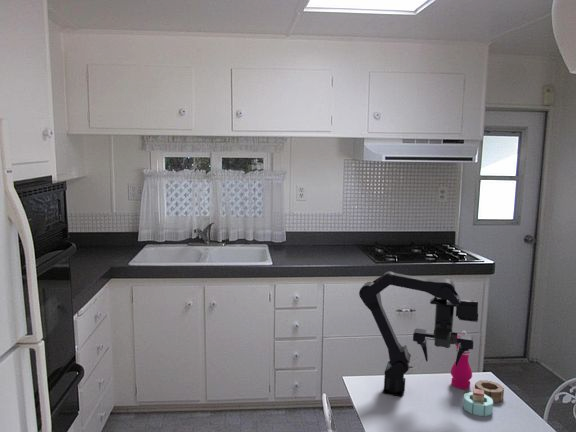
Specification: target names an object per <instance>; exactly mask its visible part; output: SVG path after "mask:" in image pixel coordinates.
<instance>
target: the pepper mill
mask: <svg viewBox="0 0 576 432" xmlns="http://www.w3.org/2000/svg"><path fill="white" fill-rule="evenodd" d="M461 334H462V335H468V333H467V331H466V330H462V331H461ZM461 334H457V337H459V338H460V335H461ZM454 345H455V350H454V351H455V353H457V350H458V345H459V343H457V344H454ZM471 350H472V349H469V350H468V351H465V352H464V353H463V354H462V356H461V357H460V360H459V362H458V364H457V366H455V362H454V363H453V364H452V366H451V367H450V368H451V369H450V375H451V376H452V378H451V386H453V387H454V388H457V389H461V390H465V389H467V390H468V389H469V388H470V387H471V381H470V380H471V379H472V378H473V371H472V370H473V369H472V367H471V365H470V362H469V357H470V355H471Z"/></svg>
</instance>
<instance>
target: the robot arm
mask: <svg viewBox="0 0 576 432" xmlns="http://www.w3.org/2000/svg"><path fill="white" fill-rule="evenodd" d="M389 286H394V287H400V288H405V289H409V290H415V291H420V292H425V293H427V294H430V295H431V296H433V297H432V298H431V299H430V301H429V304H430V305H435V309H434V310H435V311H434V313H435V314H434V325H433V326H434V327H433V328H434V329H433V333H429V332H428V333H427V329H426V328H424V329H423V328H422V329H421V328H418V327H417V328H415V329H414V330H413V334H412V341H413V342H415V343H416V344H417V345H420V347H421V349H422V351H423V354H424V358H425V361H426V362H428V359H429V351H428V340H431V341H434V346H435V347H436V348H439V347H440V348H446V349H449V348H450V347H451V345H455V344H457V343H459V345H458V350H457V352H456V355H455V361H454V363H455V366H457V364H458V362H459V360H460V357H461V356H462V354H463V353H464V352H465V351H468V350H469V349H470V350H473V349H474V337H473V336H472V335H469V334H467V335H462V334H459V335H460V338H459V337H457V336H458V332H455V331H453V329H454V326H453V325H454V315H455V317H457V319H458V320H459V321H463V322H464V321H465V322H473V323H478V321H479V302H478V300H469V299H461V297H460V295H459V294H458V291H457V290H456V285H455V283H454V281H453V280H451V279H449V278H439V277H438V278H424V277H423V278H422V277H418V276H413V275H407V274H401V273H397V272H393V271H391V270H390V271H386V272H385V273H384V274H382V275H381V276H379V277H377V278H376V279H374V280H373V281H367V282H365V283H363V285H362V287H360V289H359V291H358V295H359V298H360V299H361V301H362V302H363V304H364V305H365V307H366V308H367V309H368V310H369V311H370V312H371V314H372V316H373V318H374V321H375V323H376V325H377V328H378V330H379V332H380V335H381V337H382V339H383V341H384V344H385V346H386V348H387V352H388V358H389V361H388V362H387V363H386V365H385V366H386V367H385V369H384V379H383V390H382V393H383V394H385V395H386V394H387V395H392V396H397V397H403V394H404V393H405V392H406V378H405V374H406V373H407V372H408V371H409V369H410V365H411V364H410V363H411V357H412V355H411V353H410V352H409V350H408V346H407V345H406V344H405V345H401V344H400V342H399V340H398V337H397V336H396V333H395V332H394V329H393V327H392V324H391V322H390V319H389V318H388V316H387V314H386V311H385V308H384V306H383V303H382V296H381V292H382V291H384V290H385V289H386V288H388V287H389ZM454 312H455V313H454Z"/></svg>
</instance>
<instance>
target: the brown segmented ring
mask: <svg viewBox="0 0 576 432" xmlns="http://www.w3.org/2000/svg"><path fill="white" fill-rule="evenodd" d="M474 389H480V390H484V394H485V395H487V396H489V397H490V398H492V399H493V403H499V402H502V401H503V400H504V392H505V388H504V387H503V386H502V385H501V384H500V383H498V382H495V381H492V380H488V379H486V380H485V379H484V380H478V381H476V382H475V383H474Z"/></svg>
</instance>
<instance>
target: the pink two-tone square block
mask: <svg viewBox="0 0 576 432" xmlns="http://www.w3.org/2000/svg"><path fill="white" fill-rule="evenodd" d="M472 393H473V399H472V400H473V401H475V402H480V403H484V390H480V389H475V387H474V388H473V389H472Z"/></svg>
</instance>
